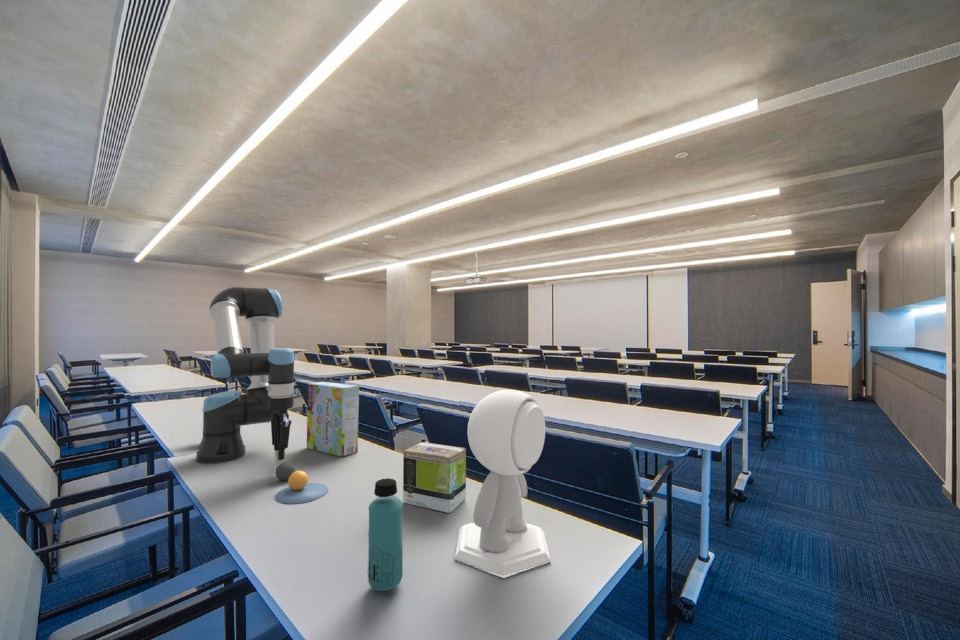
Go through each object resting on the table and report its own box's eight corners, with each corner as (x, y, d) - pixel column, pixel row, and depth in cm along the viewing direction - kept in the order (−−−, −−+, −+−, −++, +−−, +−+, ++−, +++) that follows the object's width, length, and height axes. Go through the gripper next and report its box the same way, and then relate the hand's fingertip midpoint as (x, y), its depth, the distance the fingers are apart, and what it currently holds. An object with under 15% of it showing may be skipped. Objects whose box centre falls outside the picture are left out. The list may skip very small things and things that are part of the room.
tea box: (466, 499, 112) (467, 447, 112) (449, 515, 103) (449, 457, 103) (421, 489, 119) (422, 440, 119) (401, 503, 109) (402, 449, 110)
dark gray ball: (290, 462, 123) (292, 480, 122) (296, 459, 128) (298, 476, 127) (272, 465, 122) (273, 484, 121) (278, 462, 127) (279, 479, 127)
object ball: (297, 463, 120) (304, 471, 116) (307, 475, 122) (314, 482, 118) (281, 478, 117) (288, 486, 113) (291, 489, 119) (298, 497, 116)
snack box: (359, 452, 153) (360, 385, 153) (341, 458, 145) (342, 388, 146) (323, 442, 164) (324, 380, 164) (304, 448, 157) (305, 382, 157)
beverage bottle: (409, 581, 76) (410, 476, 76) (390, 604, 70) (391, 490, 70) (379, 574, 78) (381, 472, 79) (359, 595, 72) (360, 485, 72)
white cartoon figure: (530, 590, 74) (531, 402, 75) (433, 551, 86) (435, 390, 87) (566, 541, 91) (568, 388, 91) (481, 515, 103) (483, 380, 104)
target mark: (295, 482, 123) (295, 481, 123) (337, 485, 121) (337, 484, 121) (263, 501, 109) (263, 501, 109) (310, 506, 107) (310, 505, 107)
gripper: (261, 394, 131) (260, 466, 131) (274, 400, 122) (273, 477, 122) (285, 392, 136) (284, 461, 136) (300, 397, 127) (298, 471, 127)
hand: (279, 468), depth 129 cm, fingers closed
